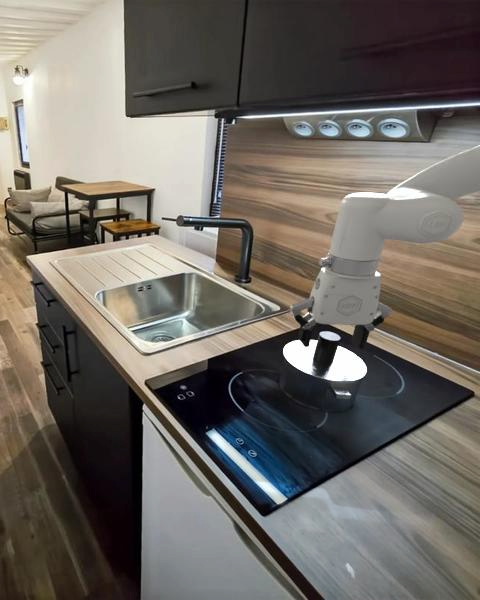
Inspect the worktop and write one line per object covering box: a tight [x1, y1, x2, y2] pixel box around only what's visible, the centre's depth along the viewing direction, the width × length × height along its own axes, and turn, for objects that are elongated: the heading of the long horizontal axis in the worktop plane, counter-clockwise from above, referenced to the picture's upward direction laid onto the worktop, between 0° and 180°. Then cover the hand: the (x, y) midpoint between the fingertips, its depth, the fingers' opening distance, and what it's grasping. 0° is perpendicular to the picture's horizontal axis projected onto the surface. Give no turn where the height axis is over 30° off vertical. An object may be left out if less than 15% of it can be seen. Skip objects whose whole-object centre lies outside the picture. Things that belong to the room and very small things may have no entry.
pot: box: [278, 358, 363, 414], centre depth 77 cm, size 14×19×8 cm
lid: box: [282, 330, 368, 384], centre depth 74 cm, size 15×15×7 cm
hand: (330, 344), depth 73 cm, fingers open, 9 cm apart
